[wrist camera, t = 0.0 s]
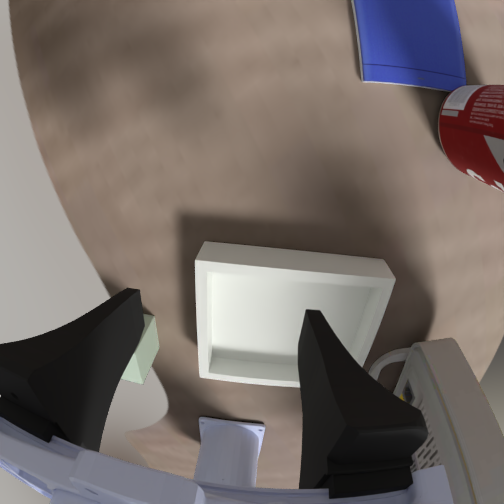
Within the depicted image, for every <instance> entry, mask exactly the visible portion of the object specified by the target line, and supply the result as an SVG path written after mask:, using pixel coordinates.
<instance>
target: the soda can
mask: <svg viewBox="0 0 504 504" xmlns="http://www.w3.org/2000/svg"><path fill="white" fill-rule="evenodd" d="M438 134H439V139H440V143H441V146H442V149H443V151H444V153H445V155H446V157H447V158H448V160H449V161H450V162H451V164H452V165H453V166H454V167H456V168H457V169H458V170H459V171H461V172H463V173H465V174H467V175H469V176H472V177H474V178H476V179H478V180H480V181H482V182H484V183H486V184H488V185H490V186H492V187H494V188H496V189H498V190H500V191H502V192H504V85H466V86H461V87H458V88H457V89H455V90H453V91H451V92H450V93H449V94H448V95H447V96H446V98H445V99H444V101H443V103H442V105H441V108H440V111H439V116H438Z"/></svg>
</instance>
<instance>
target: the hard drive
mask: <svg viewBox="0 0 504 504" xmlns="http://www.w3.org/2000/svg"><path fill="white" fill-rule="evenodd" d="M351 2H352V8H353V14H354V21H355V28H356V35H357V43H358V51H359V60H360V71H361V81H362V82H371V83H385V84H396V85H406V86H414V87H422V88H428V89H435V90H441V91H447V92H451V91H453V90H455V89H457V88H458V87H461V86H466V73H465V63H464V54H463V47H462V40H461V34H460V27H459V21H458V16H457V11H456V6H455V2H454V0H351Z"/></svg>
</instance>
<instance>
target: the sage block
mask: <svg viewBox="0 0 504 504" xmlns="http://www.w3.org/2000/svg"><path fill="white" fill-rule="evenodd" d="M143 315H144V322H145V327H144V330H143V333H142V336H141V339H140V341H139V344H138V346H137V348H136V350H135V352H134V354H133V356H132V358H131V360H130V361H129V363H128V365H127V367H126V369H125V371H124V373H123V375H122V377H121V379H122V380H126V381H130V382H134V383H138V384H144V381H145V379H146V377H147V375H148V372H149V370H150V368H151V365H152V363H153V361H154V358H155V356H156V354H157V352H158V349H159V342H158V336H157V329H156V323H155V316H153V315H147V314H143Z"/></svg>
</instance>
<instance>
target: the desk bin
mask: <svg viewBox="0 0 504 504" xmlns="http://www.w3.org/2000/svg"><path fill="white" fill-rule="evenodd" d="M395 281H396V278H395V277H394V275H393V273H392V272H391V270H390V269H389V267H388V265H387V264H386V262H385V260H384V259H378V258H368V257H359V256H349V255H339V254H330V253H320V252H310V251H300V250H290V249H280V248H270V247H260V246H249V245H239V244H229V243H219V242H208V241H204V243H203V245H202V247H201V249H200V251H199V253H198V255H197V257H196V259H195V287H196V317H197V338H198V357H199V372H200V377H202V378H208V379H216V380H223V381H231V382H240V383H249V384H259V385H271V386H284V387H300V382H299V373H298V342H299V337H300V333H301V329H302V324H303V320H304V315H305V310H306V309H312V310H320V311H321V312H322V314H323V315H324V317H325V319H326V320H327V322H328V323H329V325H330V326H331V328H332V330H333V331H334V333H335V334H336V336H337V337H338V338H339V340H340V341H341V343H342V344H343V345H344V347H345V348H346V349H347V351H348V352H349V353H350V354H351V356H352V357H353V358H354V359H355V360H356V362H357V363H358V364H359V365H360V366H361V367H363V365H364V362H365V360H366V358H367V355H368V353H369V351H370V348H371V346H372V343H373V341H374V338H375V336H376V333H377V331H378V328H379V326H380V323H381V321H382V318H383V315H384V312H385V310H386V307H387V304H388V301H389V298H390V296H391V293H392V290H393V287H394V284H395Z"/></svg>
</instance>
